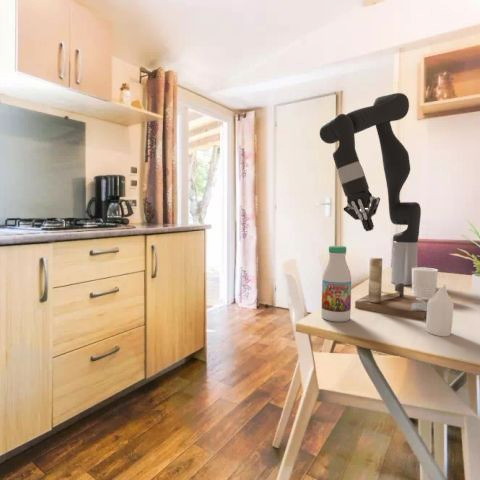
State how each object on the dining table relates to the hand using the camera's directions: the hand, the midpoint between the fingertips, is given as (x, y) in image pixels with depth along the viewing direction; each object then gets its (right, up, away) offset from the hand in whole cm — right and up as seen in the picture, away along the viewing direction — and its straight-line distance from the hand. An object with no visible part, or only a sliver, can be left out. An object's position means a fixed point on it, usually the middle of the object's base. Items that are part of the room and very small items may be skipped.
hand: (369, 230), depth 110 cm
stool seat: (+7, -24, -3) cm, 25 cm away
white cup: (+21, -23, +8) cm, 33 cm away
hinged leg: (+4, -21, -3) cm, 22 cm away
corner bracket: (+9, -23, -13) cm, 27 cm away
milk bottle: (-15, -25, -15) cm, 33 cm away
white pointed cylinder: (+7, -26, -26) cm, 37 cm away
